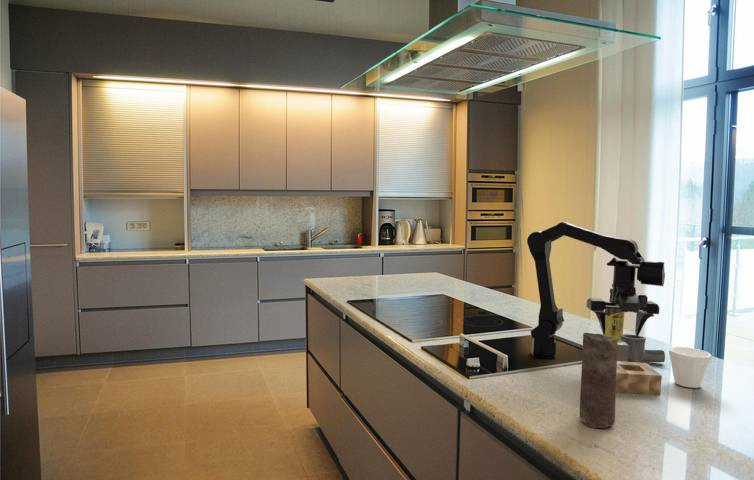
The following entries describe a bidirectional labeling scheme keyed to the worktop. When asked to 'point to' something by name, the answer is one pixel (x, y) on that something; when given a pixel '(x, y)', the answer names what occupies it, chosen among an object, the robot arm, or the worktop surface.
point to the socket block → (637, 378)
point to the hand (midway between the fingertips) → (620, 334)
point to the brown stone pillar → (598, 380)
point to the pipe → (641, 350)
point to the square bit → (622, 351)
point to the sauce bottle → (614, 321)
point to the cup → (689, 366)
